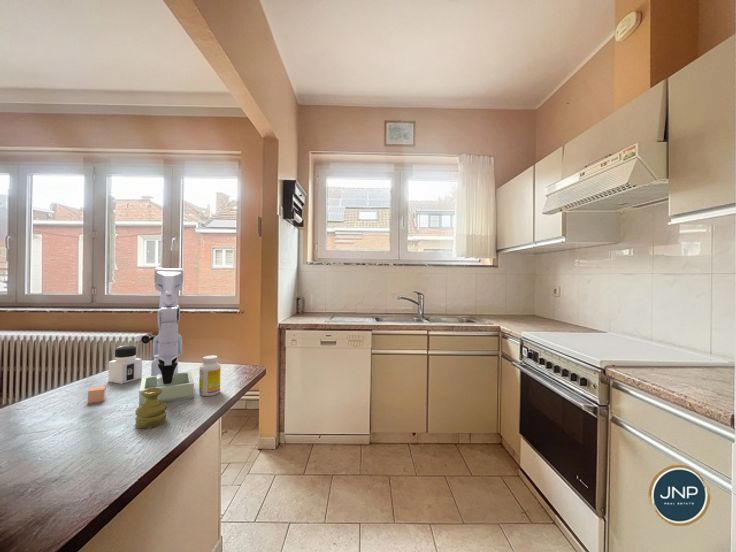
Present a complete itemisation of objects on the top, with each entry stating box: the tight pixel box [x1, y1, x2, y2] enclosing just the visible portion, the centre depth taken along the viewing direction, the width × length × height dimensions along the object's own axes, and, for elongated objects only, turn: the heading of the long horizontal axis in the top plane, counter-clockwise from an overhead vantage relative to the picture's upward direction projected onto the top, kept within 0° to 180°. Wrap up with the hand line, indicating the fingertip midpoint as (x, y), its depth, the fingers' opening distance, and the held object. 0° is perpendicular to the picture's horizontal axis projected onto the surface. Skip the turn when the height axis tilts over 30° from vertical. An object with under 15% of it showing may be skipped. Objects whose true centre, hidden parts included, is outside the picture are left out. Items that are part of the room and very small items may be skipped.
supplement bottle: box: [198, 354, 221, 397], centre depth 115 cm, size 7×7×13 cm
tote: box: [138, 371, 195, 407], centre depth 113 cm, size 15×15×5 cm
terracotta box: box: [87, 385, 107, 404], centre depth 107 cm, size 4×4×4 cm
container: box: [107, 344, 143, 385], centre depth 127 cm, size 8×8×13 cm
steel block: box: [157, 373, 174, 387], centre depth 113 cm, size 5×5×5 cm
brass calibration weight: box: [135, 387, 168, 429], centre depth 92 cm, size 7×7×10 cm
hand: (167, 381), depth 113 cm, fingers closed on steel block, 5 cm apart
